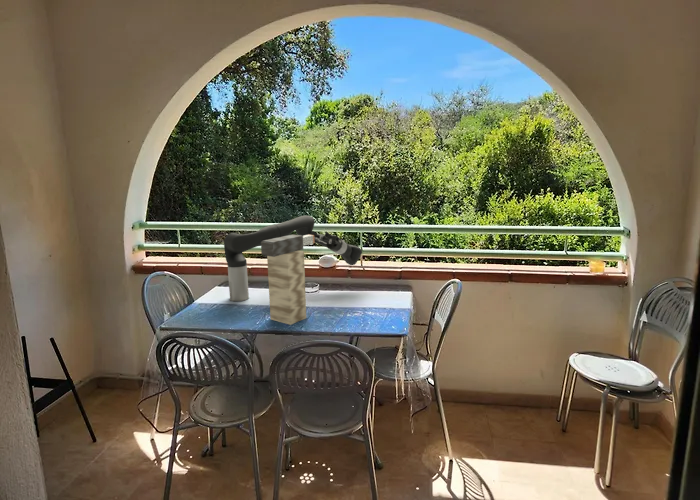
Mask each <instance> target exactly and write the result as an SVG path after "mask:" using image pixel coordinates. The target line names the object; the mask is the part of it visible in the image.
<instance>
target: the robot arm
mask: <svg viewBox="0 0 700 500" xmlns="http://www.w3.org/2000/svg"><path fill="white" fill-rule="evenodd" d="M314 227H315V219H314V217H312V216H311V215H300V216H297V217H295V218H291V219H290V220H287V221H282V222H279V223H275V224H270V225H266V226H264V227H262V228H260V229H259V230H257V231H255V232H251V233H245V234H243V233H242V234H241V233H236V232H230V233H228V234H227V235H226V236H225V237H224V241H223V247H224V249H223V250H224V257H225V261H226V263H227V274H228V275H227V276H228V289H229V301H230V302H242V301H246V300H248V299H249V298H250V297H249V280H248V264H247V259H246V257H245V256H244V254H243V253H245V252H247V251H249V250H251V249H254V248H257V247H261V242H262V241H264V240H269V239H274V238H278V237H283V236H288V235H292V233H293V232H295V233H296V235H301V236H304V235H314V241H315V243H316V244H318V245H321V246H322V247H326V248H327V249H328V250H330V251H332V252H333V253H335V254H337V255H339V256H341V257H342V258H343V260H344V261H345V263H346V264H348V266H349V265H350V266H354V265H356V264H357V262H359V259H360V258H361V255H362V254H363V250H362V248H361V247H359V246H357V245H353V244H349V243H347V242H345V241H344V240H343V239H342V238H340V237H339V236H337V235H335V234H331V233H330V232H328V231H327V232H325V233H324V234H323V233H317V232H315V231H314ZM315 243H314V244H315Z"/></svg>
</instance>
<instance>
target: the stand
mask: <svg viewBox="0 0 700 500" xmlns="http://www.w3.org/2000/svg"><path fill="white" fill-rule="evenodd" d="M260 247H261V249H260V250H261V255H262V256H265V257H266V259H267V276H268V293H269V295H268V297H269V314H270V315H269V316H270V317H269V318H270V320H271V321H276V322H279V323H282V324H286V325H290V326H292V325H293V324H296V323H299V322H300V321H303V320H305V319H307V304H306V303H307V301H306V300H307V299H306V298H307V296H306V293H307V292H306V274H305V273H306V271H305V251H304V246H303V236H301V235H298V234H289V235H288V236H283V237H278V238H274V239H269V240H264V241H262V242H261V246H260Z"/></svg>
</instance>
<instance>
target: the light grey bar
mask: <svg viewBox="0 0 700 500" xmlns="http://www.w3.org/2000/svg"><path fill="white" fill-rule="evenodd" d="M312 244H315V241H314V235H304V236H303V247H305V246H309V245H312Z"/></svg>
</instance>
